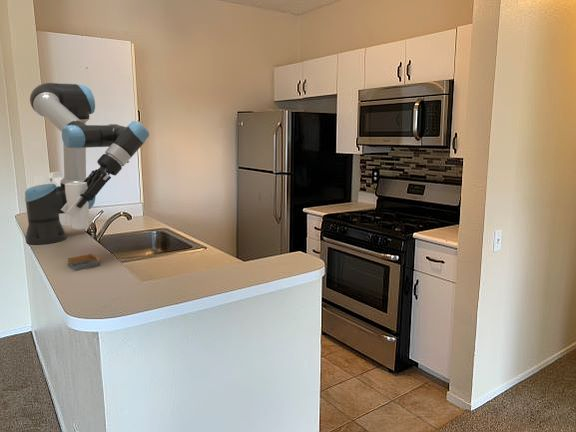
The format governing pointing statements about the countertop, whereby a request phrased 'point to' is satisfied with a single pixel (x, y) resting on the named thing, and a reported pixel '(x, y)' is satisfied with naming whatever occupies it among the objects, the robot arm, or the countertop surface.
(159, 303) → the countertop surface
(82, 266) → the square coaster
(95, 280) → the countertop surface
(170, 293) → the countertop surface
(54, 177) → the milk
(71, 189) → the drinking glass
